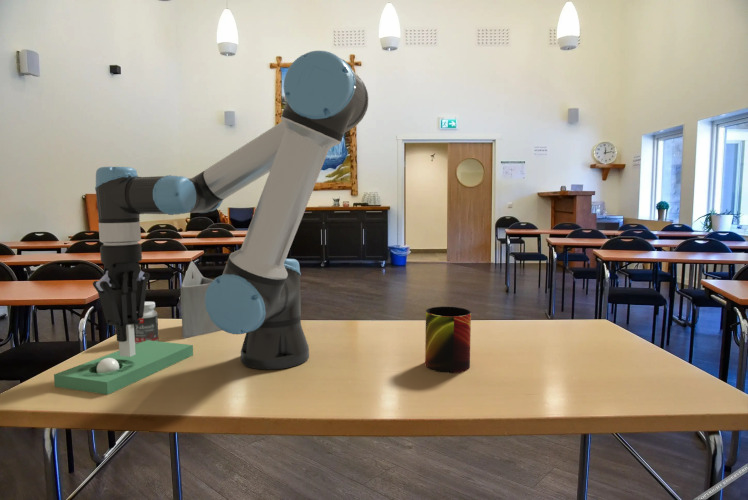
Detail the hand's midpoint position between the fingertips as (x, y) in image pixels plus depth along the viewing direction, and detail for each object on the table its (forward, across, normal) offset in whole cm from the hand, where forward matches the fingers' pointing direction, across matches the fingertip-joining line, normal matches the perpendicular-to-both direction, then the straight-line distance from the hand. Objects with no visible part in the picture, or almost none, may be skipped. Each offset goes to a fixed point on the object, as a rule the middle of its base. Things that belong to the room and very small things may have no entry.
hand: (127, 355), depth 101 cm
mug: (+4, -24, +63) cm, 68 cm away
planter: (+4, -32, -4) cm, 33 cm away
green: (+3, -1, 0) cm, 4 cm away
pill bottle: (+4, -19, -12) cm, 22 cm away
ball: (+1, +5, 0) cm, 5 cm away
